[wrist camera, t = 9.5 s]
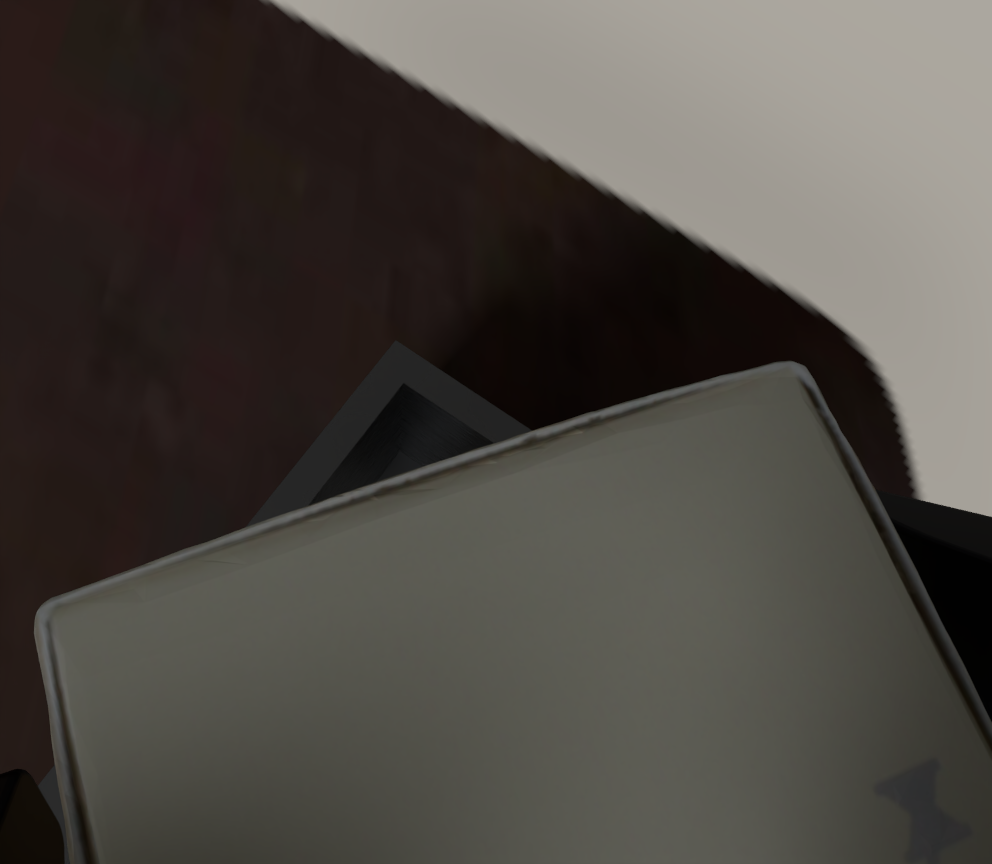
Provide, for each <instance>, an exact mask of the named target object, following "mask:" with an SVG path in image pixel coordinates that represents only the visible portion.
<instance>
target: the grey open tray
mask: <svg viewBox="0 0 992 864" xmlns="http://www.w3.org/2000/svg"><path fill="white" fill-rule="evenodd" d="M530 431H532V430H530V429H529V428H527V427H526V426H524V425H523V424H521V423H520V422H518V421H517V420H515V419H514V418H512V417H511V416H509V415H508V414H506V413H505V412H503V411H502V410H500V409H499V408H497V407H496V406H494V405H493V404H491V403H490V402H488V401H487V400H485V399H484V398H482V397H481V396H479V395H478V394H476V393H474V392H473V391H471V390H470V389H468V388H467V387H465V386H464V385H462V384H461V383H459V382H458V381H456V380H455V379H453V378H452V377H450V376H449V375H447V374H446V373H444V372H443V371H441V370H440V369H438V368H437V367H435V366H434V365H432V364H431V363H429V362H428V361H426V360H425V359H423V358H422V357H420V356H419V355H417V354H416V353H414V352H413V351H411V350H410V349H408V348H407V347H405V346H404V345H402V344H401V343H399V342H398V341H395V342H394V343H393V344H392V346H391V347H390V348H389V349H388V351H387V352H386V353H385V354H384V356H383V357H382V358H381V359H380V361H379V362H378V363H377V364H376V365H375V367H374V368H373V369H372V370H371V372H370V373H369V374H368V375H367V377H366V378H365V379H364V380H363V382H362V383H361V384H360V385H359V387H358V388H357V389H356V390H355V392H354V393H353V394H352V395H351V397H350V398H349V399H348V400H347V402H346V403H345V404H344V405H343V407H342V408H341V409H340V410H339V412H338V413H337V414H336V415H335V417H334V418H333V419H332V420H331V422H330V423H329V424H328V425H327V427H326V428H325V429H324V430H323V431H322V433H321V434H320V435H319V436H318V438H317V439H316V440H315V441H314V443H313V444H312V445H311V446H310V448H309V449H308V450H307V451H306V453H305V454H304V455H303V456H302V458H301V459H300V460H299V461H298V463H297V464H296V465H295V466H294V468H293V469H292V470H291V471H290V473H289V474H288V475H287V476H286V478H285V479H284V480H283V481H282V483H281V484H280V485H279V486H278V488H277V489H276V490H275V491H274V493H273V494H272V495H271V496H270V498H269V499H268V500H267V501H266V502H265V504H264V505H263V506H262V507H261V509H260V510H259V511H258V512H257V514H256V515H255V516H254V517H253V519H252V520H251V521H250V522H249V524H248V525H247V526H246V527H248V526H251V525H254V524H256V523H259V522H262V521H265V520H268V519H271V518H274V517H277V516H280V515H282V514H285V513H288V512H291V511H294V510H297V509H300V508H303V507H306V506H309V505H312V504H315V503H318V502H320V501H323V500H326V499H329V498H331V497H334V496H337V495H340V494H343V493H346V492H349V491H352V490H355V489H357V488H360V487H363V486H366V485H369V484H372V483H375V482H378V481H381V480H384V479H387V478H390V477H393V476H396V475H399V474H402V473H405V472H408V471H411V470H414V469H417V468H420V467H423V466H427V465H430V464H433V463H436V462H439V461H442V460H445V459H448V458H451V457H454V456H457V455H460V454H463V453H465V452H468V451H471V450H473V449H477V448H480V447H484V446H487V445H491V444H494V443H498V442H501V441H504V440H507V439H510V438H512V437H515V436H517V435H520V434H523V433H526V432H530ZM246 527H245V528H246ZM38 788H39V789H40V791H41V793H42V794H43V796H44V798H45V800H46V801H47V803H48V805H49V806H50V808H51V810H52V811H53V813H54V815H55V816H56V818H57V820H58V822H59V824H60V827H61V830H62V834H63V839H64V857H65V864H70V860H69V854H68V846H67V837H66V828H65V820H64V814H63V809H62V803H61V798H60V792H59V787H58V781H57V774H56V767H55V765H54V767H53V768H52V769H51V770H50V772H49V773H48V774H47V775H46V776H45V778H44V779H43V780H42V781H41V783H40V784H39V785H38Z"/></svg>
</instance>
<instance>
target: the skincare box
mask: <svg viewBox="0 0 992 864" xmlns="http://www.w3.org/2000/svg"><path fill="white" fill-rule="evenodd" d="M34 635H35V640H36V645H37V651H38V656H39V661H40V666H41V671H42V676H43V681H44V687H45V692H46V697H47V702H48V709H49V719H50V729H51V739H52V746H53V753H54V760H55V767H56V774H57V781H58V787H59V792H60V798H61V803H62V809H63V814H64V820H65V828H66V837H67V846H68V854H69V860H70V864H992V722H991V720H990V718H989V716H988V714H987V712H986V710H985V708H984V706H983V704H982V702H981V699H980V697H979V695H978V693H977V691H976V689H975V687H974V685H973V682H972V680H971V678H970V676H969V674H968V672H967V670H966V668H965V666H964V664H963V662H962V660H961V658H960V656H959V654H958V652H957V650H956V648H955V646H954V645H953V643H952V641H951V639H950V637H949V635H948V633H947V631H946V630H945V628H944V626H943V624H942V622H941V620H940V618H939V616H938V614H937V612H936V609H935V607H934V605H933V603H932V601H931V599H930V597H929V595H928V593H927V591H926V589H925V587H924V585H923V583H922V580H921V578H920V576H919V574H918V572H917V570H916V568H915V566H914V564H913V562H912V560H911V558H910V556H909V554H908V553H907V551H906V549H905V547H904V545H903V543H902V541H901V539H900V537H899V535H898V533H897V531H896V529H895V527H894V526H893V524H892V522H891V520H890V518H889V516H888V514H887V512H886V510H885V508H884V506H883V504H882V502H881V500H880V498H879V496H878V494H877V492H876V490H875V488H874V487H873V485H872V483H871V482H870V480H869V478H868V477H867V475H866V473H865V471H864V469H863V467H862V464H861V462H860V460H859V458H858V457H857V455H856V454H855V452H854V451H853V449H852V447H851V446H850V444H849V443H848V441H847V440H846V438H845V437H844V435H843V434H842V432H841V431H840V429H839V426H838V424H837V422H836V420H835V418H834V417H833V415H832V414H831V412H830V410H829V408H828V406H827V404H826V402H825V400H824V398H823V395H822V393H821V392H820V390H819V388H818V386H817V384H816V382H815V380H814V379H813V377H812V376H811V374H810V373H809V371H808V370H807V368H806V366H804V365H801V364H798V363H796V362H793V361H782V362H774V363H770V364H767V365H763V366H759V367H756V368H752V369H748V370H745V371H740V372H735V373H731V374H726V375H721V376H718V377H715V378H711V379H708V380H704V381H700V382H697V383H693V384H689V385H686V386H682V387H678V388H674V389H670V390H666V391H662V392H659V393H655V394H652V395H649V396H646V397H642V398H638V399H634V400H631V401H627V402H624V403H620V404H617V405H614V406H611V407H607V408H604V409H601V410H598V411H593V412H589V413H586V414H583V415H580V416H577V417H574V418H571V419H568V420H565V421H562V422H559V423H555V424H552V425H549V426H546V427H543V428H539V429H536V430H533V431H530V432H526V433H523V434H520V435H517V436H515V437H512V438H510V439H507V440H504V441H501V442H498V443H494V444H491V445H487V446H484V447H480V448H477V449H473V450H471V451H468V452H465V453H463V454H460V455H457V456H454V457H451V458H448V459H445V460H442V461H439V462H436V463H433V464H430V465H427V466H423V467H420V468H417V469H414V470H411V471H408V472H405V473H402V474H399V475H396V476H393V477H390V478H387V479H384V480H381V481H378V482H375V483H372V484H369V485H366V486H363V487H360V488H357V489H355V490H352V491H349V492H346V493H343V494H340V495H337V496H334V497H331V498H329V499H326V500H323V501H320V502H318V503H315V504H312V505H309V506H306V507H303V508H300V509H297V510H294V511H291V512H288V513H285V514H282V515H280V516H277V517H274V518H271V519H268V520H265V521H262V522H259V523H256V524H254V525H251V526H248V527H246V528H243V529H241V530H238V531H235V532H233V533H230V534H227V535H225V536H222V537H219V538H217V539H214V540H212V541H209V542H206V543H203V544H199V545H196V546H193V547H190V548H186V549H184V550H181V551H178V552H176V553H173V554H171V555H168V556H165V557H163V558H160V559H158V560H155V561H152V562H150V563H147V564H145V565H142V566H139V567H136V568H134V569H131V570H128V571H125V572H123V573H120V574H117V575H114V576H112V577H109V578H106V579H104V580H101V581H98V582H95V583H93V584H90V585H87V586H84V587H82V588H79V589H76V590H73V591H70V592H67V593H65V594H62V595H59V596H56V597H53V598H51V599H49V600H48V601H46V602H45V603H43V604H42V605H41V607H40V608H39V610H38V611H37V613H36V617H35V626H34Z"/></svg>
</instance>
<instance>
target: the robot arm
mask: <svg viewBox="0 0 992 864" xmlns="http://www.w3.org/2000/svg"><path fill="white" fill-rule="evenodd" d="M876 492H877V494H878V496H879V498H880V500H881V502H882V504H883V506H884V508H885V510H886V512H887V514H888V516H889V518H890V520H891V522H892V524H893V526H894V527H895V529H896V531H897V533H898V535H899V537H900V539H901V541H902V543H903V545H904V547H905V549H906V551H907V553H908V554H909V556H910V558H911V560H912V562H913V564H914V566H915V568H916V570H917V572H918V574H919V576H920V578H921V580H922V583H923V585H924V587H925V589H926V591H927V593H928V595H929V597H930V599H931V601H932V603H933V605H934V607H935V609H936V612H937V614H938V616H939V618H940V620H941V622H942V624H943V626H944V628H945V630H946V631H947V633H948V635H949V637H950V639H951V641H952V643H953V645H954V646H955V648H956V650H957V652H958V654H959V656H960V658H961V660H962V662H963V664H964V666H965V668H966V670H967V672H968V674H969V676H970V678H971V680H972V682H973V685H974V687H975V689H976V691H977V693H978V695H979V697H980V699H981V702H982V704H983V706H984V708H985V710H986V712H987V714H988V716H989V718H990V720H991V722H992V517H989V516H985V515H981V514H977V513H972V512H968V511H964V510H959V509H955V508H951V507H947V506H943V505H938V504H934V503H930V502H926V501H921V500H917V499H913V498H908V497H904V496H900V495H896V494H891V493H887V492H883V491H879V490H876ZM0 864H65V857H64V839H63V834H62V830H61V827H60V824H59V822H58V820H57V818H56V816H55V815H54V813H53V811H52V810H51V808H50V806H49V805H48V803H47V801H46V800H45V798H44V796H43V794H42V793H41V791H40V789H39V788H38V786H37V784H36V783H35V781H34V779H33V778H32V776H31V775H30V774H29V773H28V772H27V771H25V770H22V769H14V770H11V771H8V772H6V773H3V774H0Z"/></svg>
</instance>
